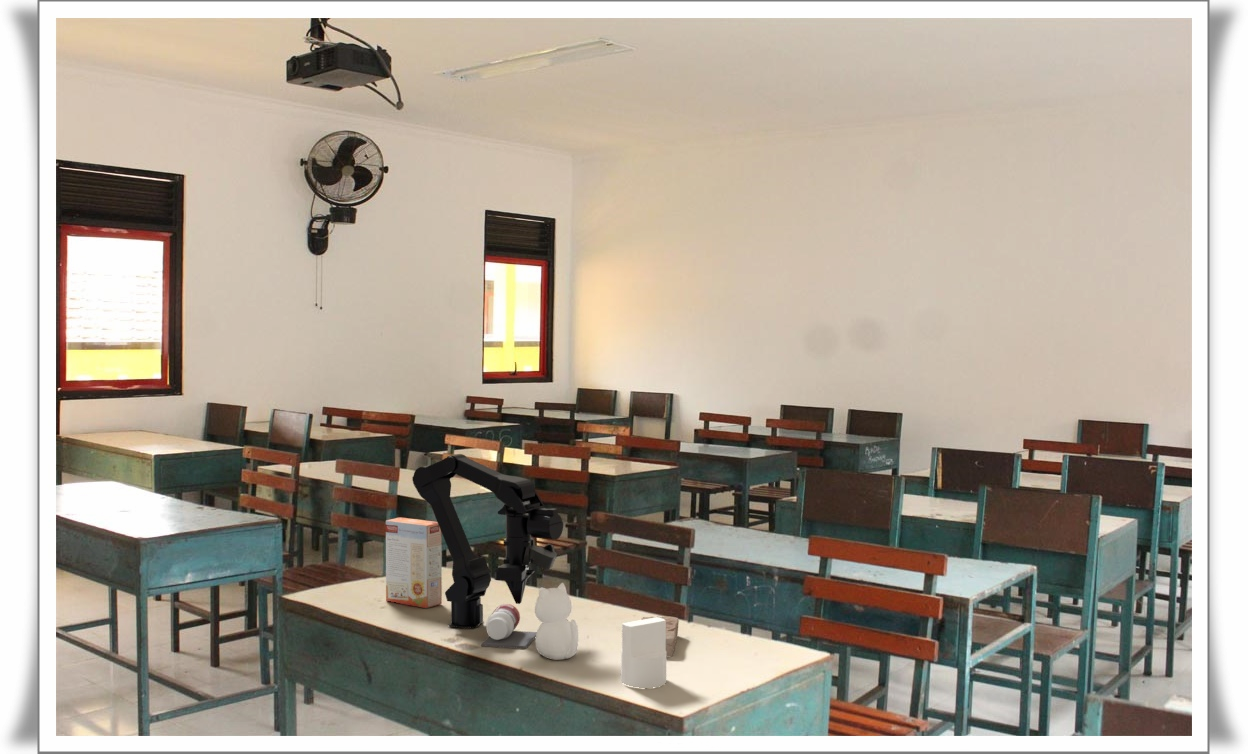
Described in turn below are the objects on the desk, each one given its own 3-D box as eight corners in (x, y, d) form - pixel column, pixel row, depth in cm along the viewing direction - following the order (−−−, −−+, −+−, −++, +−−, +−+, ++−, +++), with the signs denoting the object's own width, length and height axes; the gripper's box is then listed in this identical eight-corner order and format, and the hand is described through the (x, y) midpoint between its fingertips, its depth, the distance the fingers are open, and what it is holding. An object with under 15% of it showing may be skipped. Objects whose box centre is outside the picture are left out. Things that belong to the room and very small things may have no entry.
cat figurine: (556, 646, 247) (555, 578, 246) (594, 658, 238) (594, 588, 237) (524, 655, 240) (523, 585, 240) (562, 667, 231) (561, 595, 231)
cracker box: (443, 604, 282) (442, 521, 281) (426, 609, 277) (426, 525, 276) (401, 596, 289) (401, 516, 288) (385, 601, 284) (384, 519, 283)
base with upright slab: (638, 692, 217) (638, 630, 216) (612, 679, 224) (612, 620, 224) (675, 683, 222) (675, 623, 221) (649, 671, 229) (649, 613, 229)
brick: (673, 658, 239) (674, 636, 239) (634, 657, 240) (634, 635, 240) (678, 637, 256) (678, 616, 255) (641, 635, 257) (642, 615, 256)
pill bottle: (502, 634, 258) (491, 648, 247) (489, 610, 258) (477, 623, 247) (525, 621, 257) (515, 635, 246) (512, 597, 257) (501, 610, 246)
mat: (481, 646, 246) (481, 643, 246) (495, 632, 257) (495, 629, 257) (525, 648, 244) (525, 646, 244) (537, 634, 255) (537, 632, 255)
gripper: (543, 544, 244) (543, 615, 245) (562, 528, 263) (562, 595, 264) (493, 542, 246) (493, 613, 247) (516, 527, 265) (516, 592, 265)
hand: (518, 603), depth 256 cm, fingers closed
